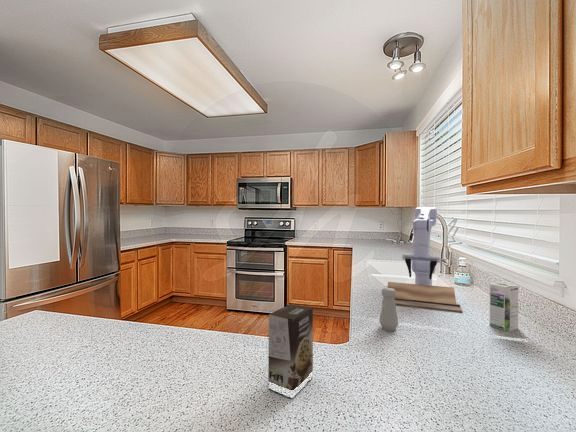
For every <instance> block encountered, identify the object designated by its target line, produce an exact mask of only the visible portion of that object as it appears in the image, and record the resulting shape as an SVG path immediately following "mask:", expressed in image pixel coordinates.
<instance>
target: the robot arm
mask: <svg viewBox="0 0 576 432" xmlns="http://www.w3.org/2000/svg"><path fill="white" fill-rule="evenodd" d="M437 212H438V211H437V207H436V206H435V207H418V206H417V207H415V209H414V218H415V219H414V220H413V221H412V230H413V254H402V256H401V257H402V260H403V261H404V263H405V264H406V266H407V269H408V277H409V278H412V273H414V275H415V276H414V280H415V281H414V284H419V285H430V286H433V275H434V274H435V273H436V266H437V264H438V263H439V264H440V263H441V257H439V256H438V257H436V256H433V255H432V253H430V248H431V247H430V243H431V231H432V228H433V227H435V226H436V224H437V218H438V217H437V215H438V213H437Z"/></svg>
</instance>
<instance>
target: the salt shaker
mask: <svg viewBox="0 0 576 432" xmlns="http://www.w3.org/2000/svg"><path fill="white" fill-rule="evenodd" d="M381 295H382V297H383V299H384V300H383V299H382V305H381V309H380V310H381V311H380V315H379V320H378V321H379V324H380V326H381V329H382V330H384V331H386V332H394V331H396V330H397V328H398V327H399V319H398V312H397V307H396V306H397V305H395V300H394V297H395V296H396V291H395V290H394V289H392V288H387V287H384V288H383V289H382V290H381Z"/></svg>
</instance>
